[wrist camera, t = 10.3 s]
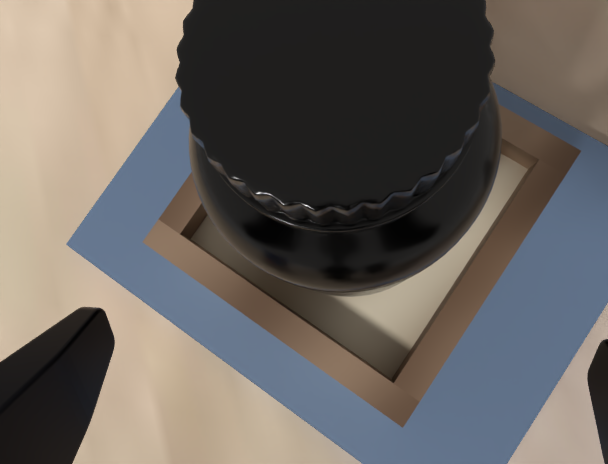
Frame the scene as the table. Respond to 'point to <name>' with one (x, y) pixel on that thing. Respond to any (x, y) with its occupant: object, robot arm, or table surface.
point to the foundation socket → (392, 302)
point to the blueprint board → (465, 356)
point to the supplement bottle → (341, 133)
